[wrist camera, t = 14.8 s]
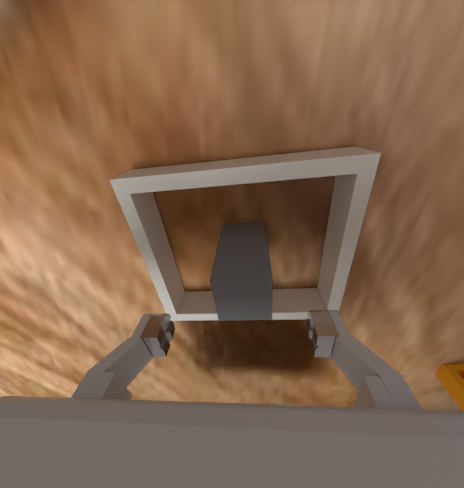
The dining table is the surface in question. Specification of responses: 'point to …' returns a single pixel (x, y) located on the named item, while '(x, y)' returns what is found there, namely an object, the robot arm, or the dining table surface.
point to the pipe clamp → (453, 381)
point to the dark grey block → (242, 273)
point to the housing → (242, 172)
